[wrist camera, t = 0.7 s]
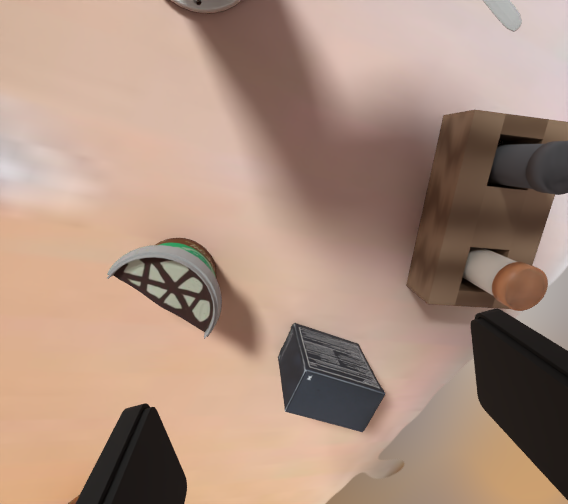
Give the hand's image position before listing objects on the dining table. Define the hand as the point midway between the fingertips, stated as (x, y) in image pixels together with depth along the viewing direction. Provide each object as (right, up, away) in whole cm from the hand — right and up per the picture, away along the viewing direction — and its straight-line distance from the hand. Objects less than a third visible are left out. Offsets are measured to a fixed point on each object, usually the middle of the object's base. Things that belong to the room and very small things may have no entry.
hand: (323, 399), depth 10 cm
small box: (+4, -10, +39) cm, 41 cm away
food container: (-13, +4, +33) cm, 36 cm away
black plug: (+24, +15, +33) cm, 43 cm away
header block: (+23, +10, +35) cm, 43 cm away
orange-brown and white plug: (+22, +4, +36) cm, 43 cm away
